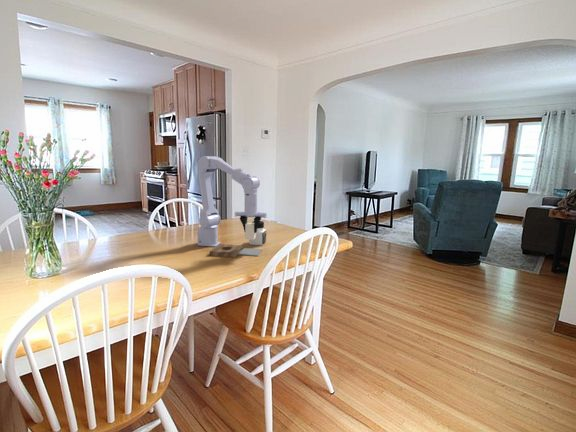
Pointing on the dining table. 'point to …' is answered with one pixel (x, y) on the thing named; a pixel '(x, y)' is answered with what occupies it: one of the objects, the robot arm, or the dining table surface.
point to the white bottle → (259, 235)
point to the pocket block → (226, 250)
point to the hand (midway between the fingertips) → (250, 232)
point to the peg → (249, 231)
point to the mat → (250, 252)
